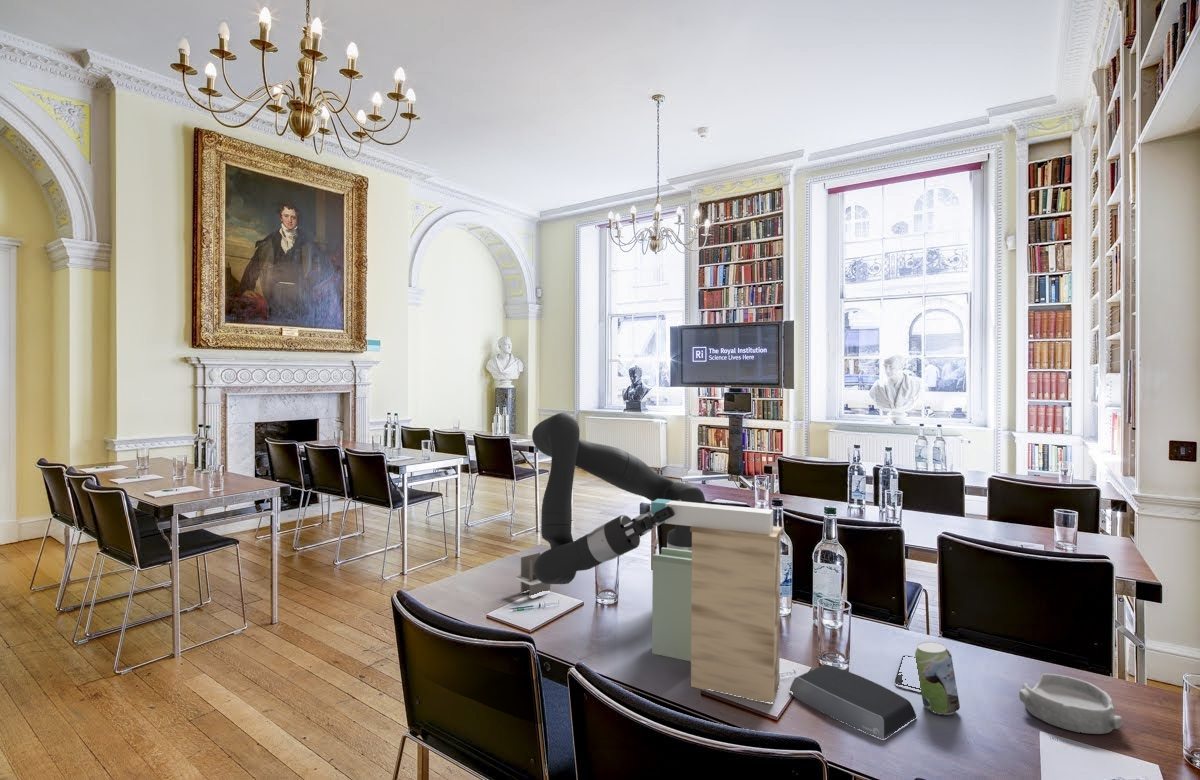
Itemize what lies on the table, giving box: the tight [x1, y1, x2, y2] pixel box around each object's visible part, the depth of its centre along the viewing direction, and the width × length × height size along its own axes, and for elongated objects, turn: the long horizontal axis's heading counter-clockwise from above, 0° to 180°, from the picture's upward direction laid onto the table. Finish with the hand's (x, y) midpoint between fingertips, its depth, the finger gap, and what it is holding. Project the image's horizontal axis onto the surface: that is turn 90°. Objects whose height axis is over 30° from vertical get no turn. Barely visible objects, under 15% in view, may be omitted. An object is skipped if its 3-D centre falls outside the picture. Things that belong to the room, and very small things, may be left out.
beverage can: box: [914, 641, 961, 716], centre depth 111 cm, size 6×7×12 cm
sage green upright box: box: [651, 546, 692, 662], centre depth 134 cm, size 7×12×22 cm, turn 65°
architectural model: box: [515, 552, 551, 595], centre depth 171 cm, size 19×17×11 cm
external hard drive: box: [789, 664, 917, 739], centre depth 113 cm, size 13×19×4 cm
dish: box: [1018, 673, 1123, 735], centre depth 109 cm, size 14×14×5 cm
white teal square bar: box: [650, 499, 774, 535], centre depth 120 cm, size 4×24×4 cm, turn 65°
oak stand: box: [690, 525, 783, 703], centre depth 119 cm, size 9×17×32 cm, turn 65°
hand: (677, 507), depth 123 cm, fingers open, 6 cm apart
